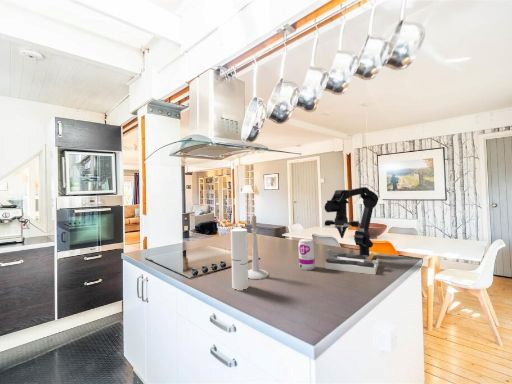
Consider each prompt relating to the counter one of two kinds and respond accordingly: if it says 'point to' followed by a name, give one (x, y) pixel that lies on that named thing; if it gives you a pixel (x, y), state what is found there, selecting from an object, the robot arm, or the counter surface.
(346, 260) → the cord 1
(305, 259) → the supplement can
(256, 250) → the candlestick
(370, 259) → the orange brick
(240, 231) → the cylindrical container
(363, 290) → the counter surface
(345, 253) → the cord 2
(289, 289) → the counter surface
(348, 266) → the white tray
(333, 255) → the paddle grey
